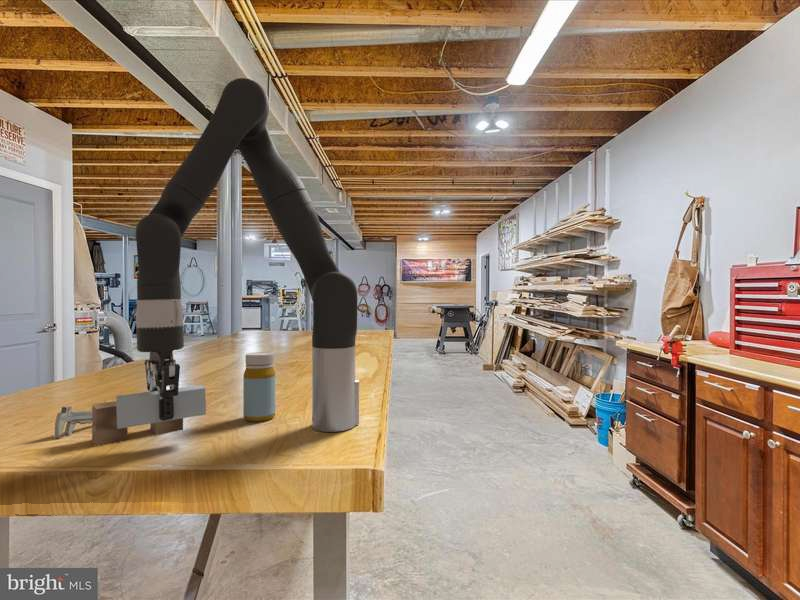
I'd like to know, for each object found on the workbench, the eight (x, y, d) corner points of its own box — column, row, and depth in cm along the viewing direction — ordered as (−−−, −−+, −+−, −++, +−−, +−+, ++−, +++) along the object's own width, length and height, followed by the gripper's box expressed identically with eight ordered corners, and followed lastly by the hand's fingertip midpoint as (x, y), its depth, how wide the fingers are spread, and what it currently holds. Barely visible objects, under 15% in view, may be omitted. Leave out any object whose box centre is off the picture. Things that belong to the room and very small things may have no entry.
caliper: (58, 440, 82) (59, 408, 82) (54, 440, 83) (54, 408, 83) (144, 413, 102) (145, 388, 102) (141, 413, 102) (141, 387, 102)
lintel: (202, 410, 83) (201, 385, 83) (205, 414, 80) (205, 388, 80) (116, 423, 75) (116, 395, 75) (117, 429, 72) (116, 399, 72)
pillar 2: (176, 424, 92) (176, 392, 92) (183, 429, 88) (183, 396, 89) (150, 429, 89) (150, 396, 89) (156, 434, 85) (156, 400, 85)
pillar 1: (122, 434, 85) (122, 400, 85) (127, 440, 82) (127, 404, 82) (92, 440, 82) (92, 404, 82) (96, 446, 78) (96, 409, 78)
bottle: (262, 423, 92) (262, 356, 93) (236, 421, 95) (236, 354, 95) (281, 415, 99) (281, 352, 99) (256, 413, 101) (256, 351, 101)
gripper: (194, 324, 75) (197, 420, 75) (171, 322, 85) (173, 406, 85) (147, 326, 70) (149, 429, 70) (128, 324, 80) (130, 414, 80)
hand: (162, 416), depth 77 cm, fingers closed on lintel, 4 cm apart
